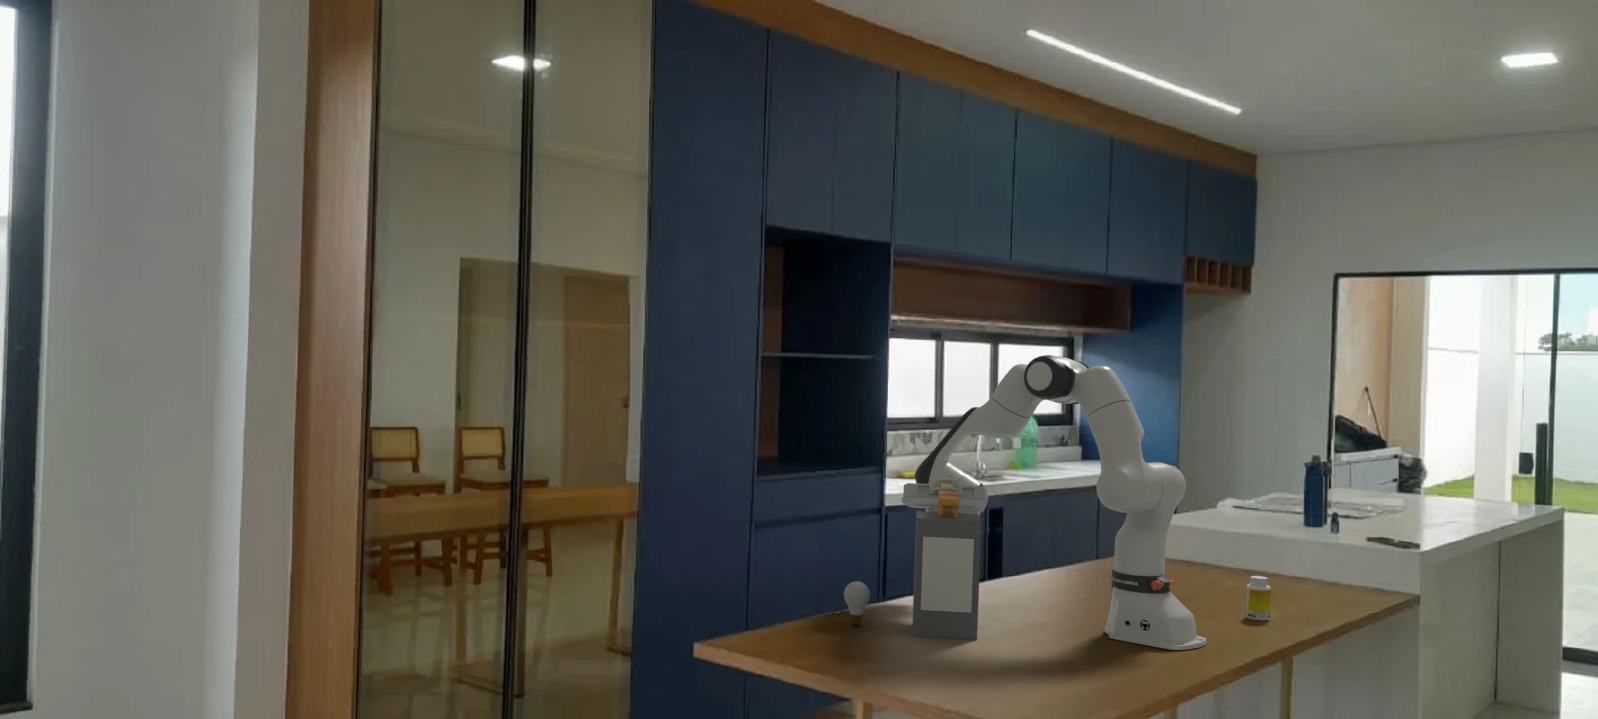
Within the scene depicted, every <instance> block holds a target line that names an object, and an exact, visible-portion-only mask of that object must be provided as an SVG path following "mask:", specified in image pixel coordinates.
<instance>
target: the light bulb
mask: <svg viewBox="0 0 1598 719" xmlns="http://www.w3.org/2000/svg"><path fill="white" fill-rule="evenodd" d="M870 597H871V592H870V589H869V587H868V586H867V585H866V584H865V583H864V582H862V581H858V580H857V581H851V582H849V583H848V584H847V585H846V586H845V588H844V591H843V598H844V601H845V603H846V605H847V608H848V611H849V616H850V618H849V622H850V623H851V625H852V626H854V627H857V626H860V624H861V623H862V621H863V619H862V618H863V614H864V611H865V608H866V606H867V604H868V602H869V601H870V599H871V598H870Z"/></svg>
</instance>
